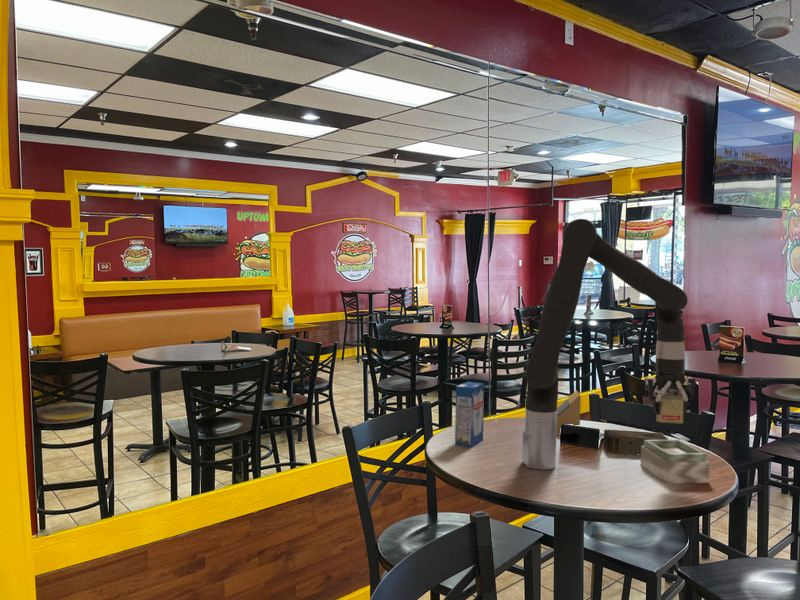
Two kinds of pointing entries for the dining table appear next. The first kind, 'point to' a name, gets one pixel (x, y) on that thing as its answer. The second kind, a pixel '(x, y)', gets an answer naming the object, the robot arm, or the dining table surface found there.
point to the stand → (675, 461)
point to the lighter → (671, 407)
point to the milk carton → (469, 414)
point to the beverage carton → (628, 441)
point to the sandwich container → (569, 411)
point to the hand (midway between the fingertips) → (669, 413)
